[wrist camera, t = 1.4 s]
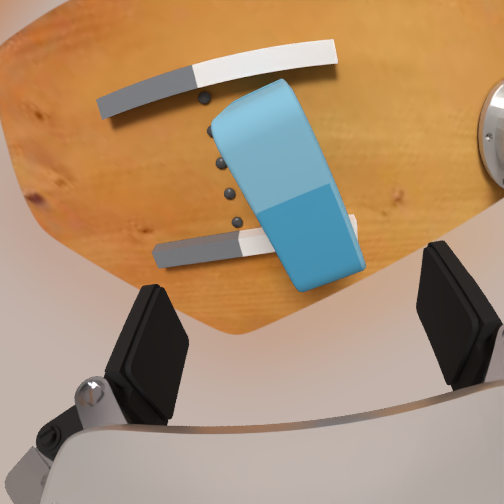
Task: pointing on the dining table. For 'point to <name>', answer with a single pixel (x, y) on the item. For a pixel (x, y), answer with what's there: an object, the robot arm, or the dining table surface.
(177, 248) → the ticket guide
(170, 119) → the dining table surface
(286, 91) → the blue rounded box
